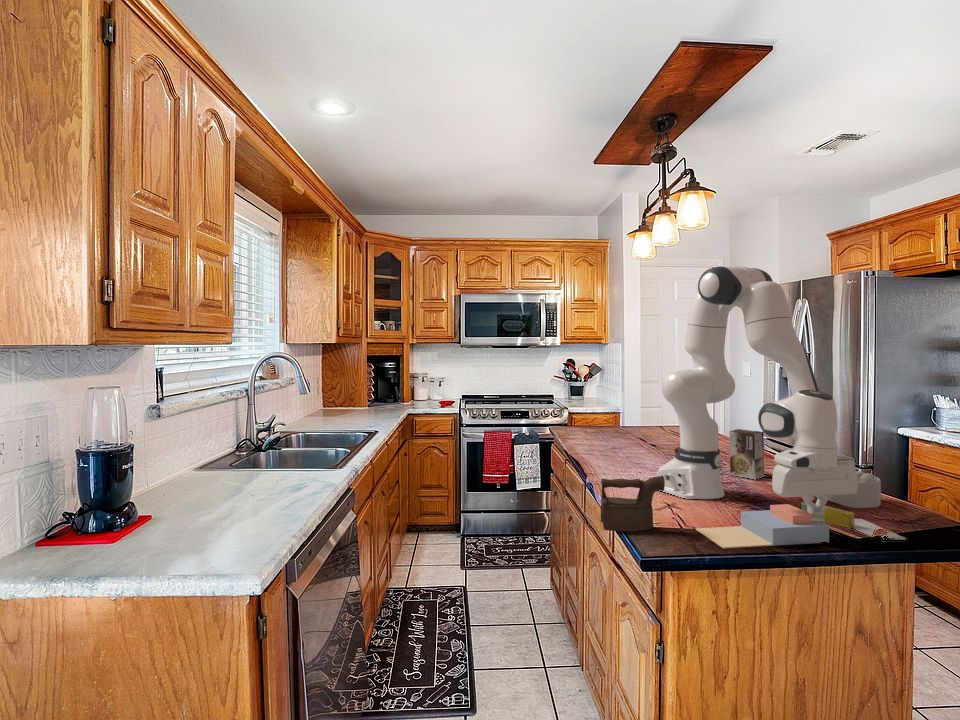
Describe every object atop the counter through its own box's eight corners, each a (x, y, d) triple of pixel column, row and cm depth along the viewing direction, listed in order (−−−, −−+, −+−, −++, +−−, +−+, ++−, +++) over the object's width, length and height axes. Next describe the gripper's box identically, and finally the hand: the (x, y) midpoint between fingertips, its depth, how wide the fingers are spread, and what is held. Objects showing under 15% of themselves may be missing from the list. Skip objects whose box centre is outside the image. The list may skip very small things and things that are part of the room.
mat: (740, 527, 127) (740, 526, 127) (772, 545, 115) (772, 544, 115) (695, 529, 126) (695, 528, 126) (723, 548, 114) (723, 547, 114)
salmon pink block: (788, 512, 126) (788, 504, 126) (812, 522, 118) (812, 514, 118) (770, 512, 126) (770, 505, 126) (792, 524, 118) (792, 515, 118)
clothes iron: (666, 534, 124) (666, 480, 123) (600, 530, 127) (600, 478, 126) (661, 522, 132) (661, 472, 131) (599, 519, 135) (599, 470, 134)
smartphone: (861, 518, 132) (909, 539, 117) (861, 520, 132) (909, 542, 117) (833, 518, 132) (877, 539, 117) (833, 521, 132) (877, 542, 117)
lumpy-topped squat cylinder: (821, 498, 150) (821, 469, 150) (859, 495, 152) (859, 467, 152) (852, 509, 140) (852, 478, 140) (892, 506, 142) (892, 475, 142)
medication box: (799, 516, 135) (798, 502, 135) (804, 514, 136) (803, 500, 136) (850, 530, 125) (850, 514, 124) (855, 527, 126) (855, 512, 126)
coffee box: (764, 477, 174) (764, 431, 173) (755, 480, 170) (755, 433, 170) (738, 472, 181) (738, 428, 181) (729, 475, 178) (728, 430, 177)
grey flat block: (792, 524, 128) (792, 509, 128) (829, 542, 117) (829, 525, 116) (740, 527, 127) (740, 511, 127) (772, 545, 115) (772, 528, 115)
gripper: (843, 452, 126) (843, 506, 127) (768, 455, 124) (768, 510, 125) (865, 458, 120) (865, 515, 120) (785, 461, 118) (786, 519, 118)
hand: (815, 512), depth 123 cm, fingers closed
